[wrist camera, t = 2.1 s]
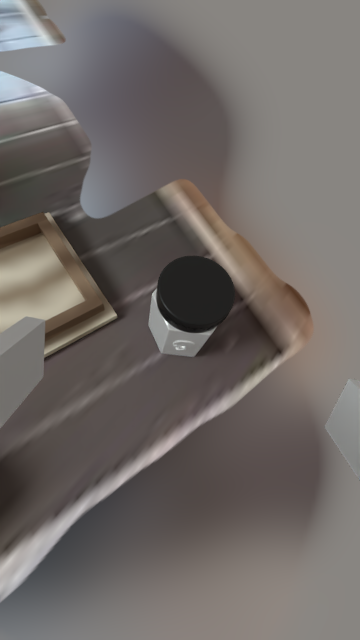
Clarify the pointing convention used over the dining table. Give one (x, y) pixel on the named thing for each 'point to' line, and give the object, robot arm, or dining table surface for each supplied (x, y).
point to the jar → (189, 304)
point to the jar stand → (48, 283)
